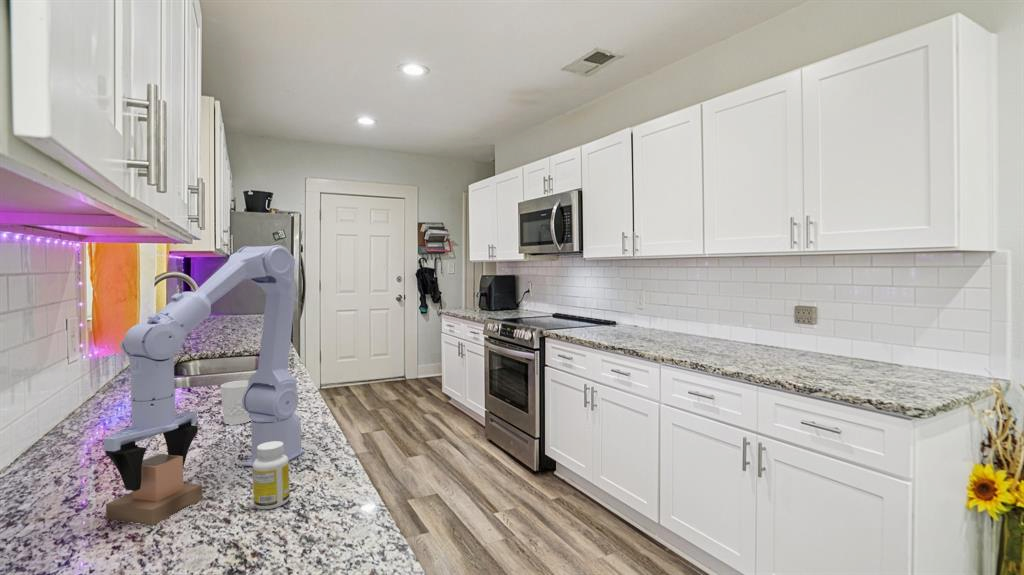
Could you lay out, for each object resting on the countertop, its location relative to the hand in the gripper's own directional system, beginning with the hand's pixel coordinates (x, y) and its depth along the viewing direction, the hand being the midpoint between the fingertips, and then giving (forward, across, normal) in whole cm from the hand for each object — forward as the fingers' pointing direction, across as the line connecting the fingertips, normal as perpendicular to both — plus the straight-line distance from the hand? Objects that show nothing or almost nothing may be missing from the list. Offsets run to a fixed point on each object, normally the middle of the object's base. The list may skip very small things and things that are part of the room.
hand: (155, 479), depth 80 cm
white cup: (+5, +43, +23) cm, 49 cm away
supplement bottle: (+5, +6, -17) cm, 19 cm away
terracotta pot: (+2, 0, 0) cm, 2 cm away
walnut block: (+5, 0, 0) cm, 5 cm away
